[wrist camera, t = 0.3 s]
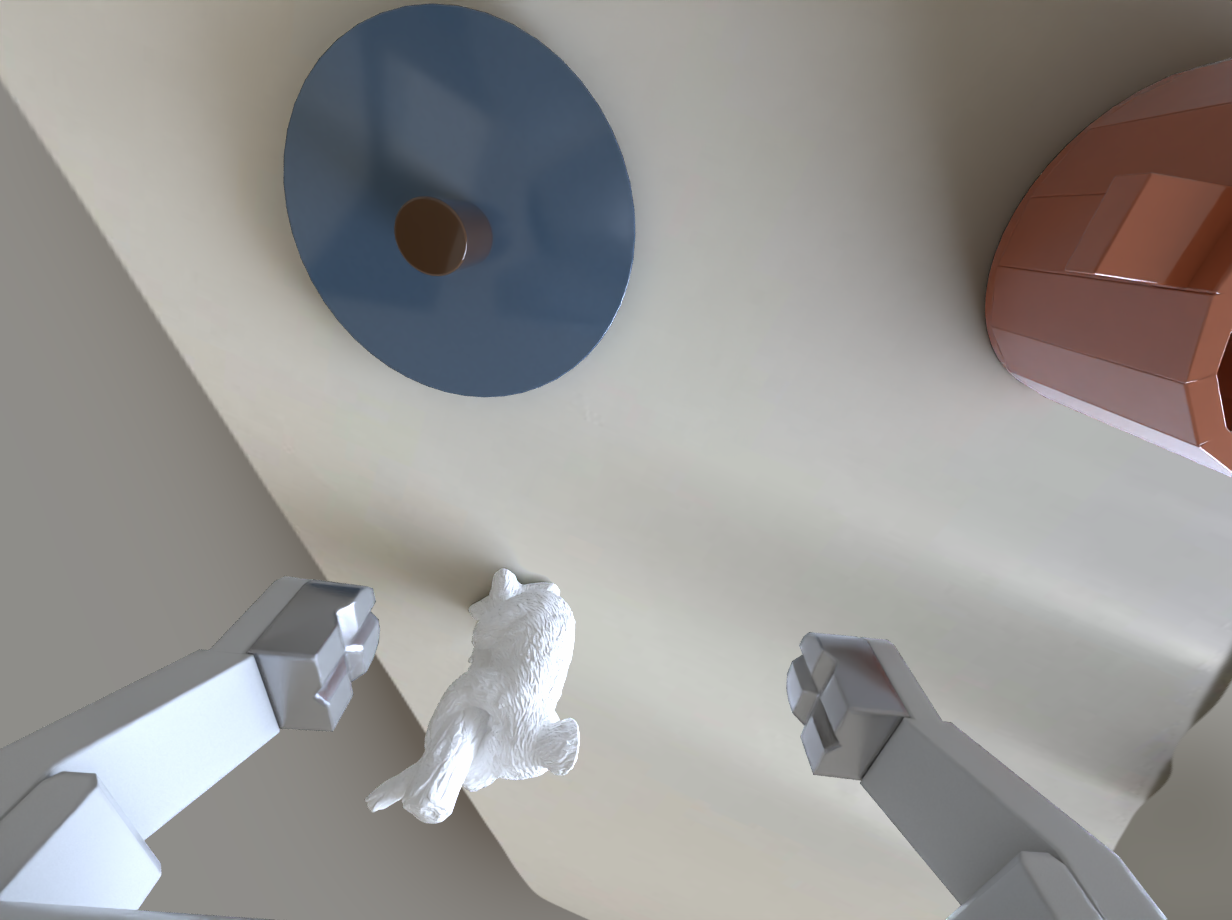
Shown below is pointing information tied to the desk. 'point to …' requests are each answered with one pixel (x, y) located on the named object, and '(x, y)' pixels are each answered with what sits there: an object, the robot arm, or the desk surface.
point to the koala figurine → (496, 704)
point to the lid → (459, 200)
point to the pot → (1130, 270)
